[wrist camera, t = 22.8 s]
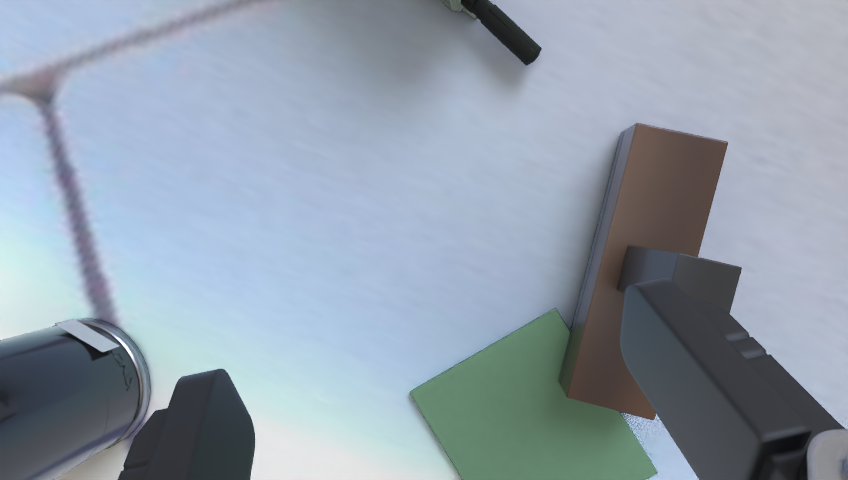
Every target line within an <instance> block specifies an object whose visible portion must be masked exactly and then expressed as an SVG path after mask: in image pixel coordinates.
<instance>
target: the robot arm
mask: <svg viewBox="0 0 848 480" xmlns="http://www.w3.org/2000/svg"><path fill="white" fill-rule="evenodd" d="M55 324H56V325H55V326H53V327H50V328H46V329H42V330H38V331H35V332H31V333H26V334H22V335H18V336H15V337H11V338H7V339H3V340H0V480H55V479H56V478H58V477H59V476H61V475H63V474H64V473H66V472H68V471H69V470H71V469H72V468H74V467H76V466H78V465H79V464H81V463H83V462H84V461H86V460H87V459H89V458H91V457H92V456H94V455H95V454H97V453H99V452H100V451H102V450H104V449H107V448H109V447H111V446H113V445H115V444H116V443H118V442H119V441H121V440H123V439H124V438H126V437H127V436H128V435H130V434H131V433H132V432H133V431H134V430H135V429H136V428H137V426H138V425H139V424H140V422H141V420H142V419H143V417H144V415H145V412H146V410H147V407H148V403H149V397H150V379H149V373H148V369H147V366H146V363H145V360H144V358H143V356H142V354H141V352H140V350H139V349H138V347H137V346H136V345H135V343H134V342H133V341H132V340H131V339H130V338H129V337H128V336H127V335H126V334H125V333H124V332H123V331H121V330H120V329H118V328H117V327H115V326H113V325H111V324H109V323H107V322H104V321H101V320H97V319H86V318H83V319H76V320H75V319H71V320H67V321H63V322H59V323H55ZM620 347H621V352H622V356H623V359H624V362H625V364H626V366H627V368H628V370H629V372H630V373H631V375H632V376H633V378H634V379H635V381H636V383H637V384H638V386H639V387H640V389H641V390H642V392H643V393H644V395H645V396H646V398H647V400H648V401H649V403H650V404H651V406H652V407H653V409H654V410H655V412H656V413H657V415H658V417H659V418H660V420H661V421H662V423H663V424H664V426H665V427H666V429H667V430H668V432H669V433H670V435H671V437H672V438H673V440H674V441H675V443H676V444H677V446H678V447H679V449H680V450H681V452H682V454H683V455H684V457H685V458H686V460H687V461H688V463H689V464H690V466H691V467H692V469H693V471H694V472H695V474H696V475H697V477H698V478H699V480H848V430H846V429H845V428H844V427H843V426H842V425H840V424H839V423H838V422H837V421H836V420H835V419H834V418H833V417H832V416H831V415H830V414H829V413H828V412H827V411H826V410H825V409H824V408H823V407H822V406H821V405H820V404H819V403H818V402H817V401H816V400H815V399H814V398H813V397H812V396H811V395H810V394H809V393H808V392H807V391H806V390H805V389H804V388H803V387H802V386H801V385H800V384H799V383H798V382H797V381H796V380H795V379H794V378H793V377H792V376H791V375H790V374H789V373H788V372H787V371H786V370H785V369H784V368H783V367H782V366H781V365H780V364H779V363H778V362H777V361H776V360H775V359H774V358H773V357H772V356H771V355H767V354H766V350H765V349H764V348H763V347H762V346H761V345H760V344H759V343H758V342H757V341H756V340H755V339H754V338H753V337H751V338H750V337H749V333H748V332H747V331H746V330H745V329H744V328H743V327H742V326H741V325H740V324H739V323H738V322H737V321H736V320H735V319H734V318H733V317H732V316H731V315H730V314H729V313H728V312H726V311H724V310H722V309H721V308H719V307H717V306H715V305H713V304H712V303H710V302H708V301H706V300H704V299H703V298H696V299H692V300H690V298H689V297H688V296H687V295H686V294H685V293H684V292H683V291H682V290H681V289H680V288H679V287H678V286H677V285H676V284H675V283H674V282H673V281H672V280H671V279H669V278H661V279H656V280H651V281H647V282H642V283H637V284H632V285H629V286H627V288H626V290H625V295H624V304H623V314H622V324H621V334H620ZM254 450H255V433H254V427H253V423H252V419H251V417H250V415H249V413H248V411H247V409H246V407H245V405H244V403H243V401H242V400H241V398H240V396H239V394H238V392H237V390H236V388H235V386H234V384H233V382H232V380H231V378H230V377H229V375H228V373H227V372H226V371H225V370H224V369H217V370H212V371H207V372H202V373H198V374H193V375H188V376H183V377H181V378H180V379H179V380H178V382H177V384H176V386H175V389H174V392H173V395H172V397H171V400H170V403H169V406H168V408H166V409H162V410H157V411H155V412H154V413H153V414H152V416H151V417H150V418H149V420H148V421H147V422H146V423H145V425H144V426H143V427H142V428H141V430H140V431H139V432H138V434H137V435H136V436H135V438H134V440H133V443H132V445H131V448H130V450H129V453H128V455H127V458H126V460H125V463H124V465H123V466H124V471H121V473H120V475H119V478H118V480H250V476H251V469H252V463H253V457H254Z"/></svg>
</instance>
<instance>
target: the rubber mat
mask: <svg viewBox="0 0 848 480" xmlns="http://www.w3.org/2000/svg"><path fill="white" fill-rule="evenodd" d="M569 336H570V331H569V329H568V327H567V326H566V324H565V322H564V321H563V319H562V318H561V316H560V314H559V313H558V311H557V310H556V308H555V309H553V310H551V311H549V312H548V313H546V314H544V315H542V316H541V317H539V318H537V319H535V320H534V321H532V322H530V323H528V324H527V325H525V326H523V327H521V328H520V329H518V330H516V331H514V332H513V333H511V334H509V335H508V336H506V337H504V338H502V339H501V340H499V341H497V342H495V343H494V344H492V345H490V346H488V347H487V348H485V349H483V350H481V351H480V352H478V353H476V354H474V355H473V356H471V357H469V358H467V359H466V360H464V361H462V362H460V363H459V364H457V365H455V366H454V367H452V368H450V369H448V370H447V371H445V372H443V373H441V374H440V375H438V376H436V377H434V378H433V379H431V380H429V381H427V382H426V383H424V384H422V385H420V386H419V387H417V388H415V389H413V390H412V391H411V392H410V394H411V396H412V398H413V399H414V401H415V403H416V404H417V406H418V407H419V409H420V411H421V412H422V414H423V416H424V417H425V419H426V421H427V422H428V424H429V425H430V427H431V429H432V430H433V432H434V434H435V435H436V437H437V439H438V440H439V442H440V443H441V445H442V447H443V448H444V450H445V452H446V453H447V455H448V457H449V458H450V460H451V461H452V463H453V465H454V466H455V468H456V470H457V471H458V473H459V475H460V476H461V478H462V480H646V479H648V478H649V477H651V476H653V475H655V474H657V473H658V472H657V471H656V469H655V467H654V466H653V464H652V463H651V461H650V459H649V458H648V456H647V455H646V453H645V451H644V450H643V448H642V446H641V445H640V443H639V442H638V440H637V438H636V437H635V435H634V434H633V432H632V430H631V429H630V427H629V426H628V424H627V422H626V421H625V419H624V418H623V416H622V414H621V413H620V412H619V411H615V410H612V409H608V408H604V407H600V406H596V405H592V404H589V403H585V402H581V401H577V400H573V399H569V398H567V397H566V395H565V393H564V392H563V390H562V388H561V386H560V384H559V382H558V379H559V375H560V371H561V367H562V363H563V360H564V356H565V352H566V348H567V344H568V340H569Z"/></svg>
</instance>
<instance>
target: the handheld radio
mask: <svg viewBox="0 0 848 480" xmlns="http://www.w3.org/2000/svg"><path fill="white" fill-rule="evenodd" d="M441 1H442V2H443V3H444V4H445V5H446V6H447V7H449V8H450V9H451V10H453V11H458V12H460V11H461V10H463V11H465V12H466V13H467V14H469V15H470V16H471V17H473V18H474V19H476V18H478V19H479V20H481V23H482V24H483V25H484V26H485V27H486V28H487V29H488V30H489V31H490V32H491V33H492V34H493V35H495V36H496V37H497V38H498V39H499V40H500V41H501V42H502V43H503V44H504V45H505V46H506V47H507V48H508V49H509V50H510V51H511V52H512V53H514V54H515V55H516V56H517V57H518V58H519V59H520V60H521V61H522V62H523V63H524V64H525V65H528V64H530V63H532V62H533V61H534V60H535V59H536V58H537V57H538V56H539V53H540V51H541V47H540V46H539V45H538V44H537V43H535V42H534V41H533V40H532V39H531V38H530V37H529V36H528V35H527V34H526V33H525V32H524V31H523V30H522V29H521V28H520V27H518V26H517V25H516V24H515V23H514V22H513V21H512V20H511V19H510V18H509V17H508V16H507V15H506V14H505V13H504V12H502V11H501V10H500V9H499V8H498V7H497V6H496V5H493V4H492V3H491V2H490V1H489V0H441Z"/></svg>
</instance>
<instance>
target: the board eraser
mask: <svg viewBox="0 0 848 480" xmlns="http://www.w3.org/2000/svg"><path fill="white" fill-rule="evenodd" d="M727 145H728V142H726V141H721V140H717V139H712V138H707V137H702V136H698V135H693V134H688V133H683V132H678V131H674V130H669V129H664V128H659V127H655V126H650V125H645V124H640V123H636V124H634V125H633V126H631V127H629V128H628V129H626V130H625V131H623V132H621V135H620V139H619V143H618V147H617V151H616V155H615V159H614V162H613V166H612V170H611V174H610V178H609V182H608V186H607V190H606V194H605V198H604V202H603V206H602V210H601V214H600V218H599V222H598V226H597V229H596V233H595V237H594V241H593V245H592V249H591V253H590V257H589V261H588V265H587V269H586V273H585V277H584V281H583V285H582V289H581V293H580V296H579V300H578V304H577V308H576V312H575V316H574V320H573V324H572V328H571V332H570V336H569V340H568V344H567V348H566V352H565V356H564V360H563V363H562V367H561V371H560V375H559V379H558V382H559V384H560V386H561V388H562V390H563V392H564V393H565V395H566V397H567V398H569V399H573V400H577V401H581V402H585V403H589V404H592V405H596V406H600V407H604V408H608V409H612V410H615V411H619V412H623V413H627V414H631V415H635V416H638V417H642V418H646V419H650V420H654V418H655V415H656V412H655V410H654V409H653V407H652V406H651V404H650V403H649V401H648V400H647V398H646V396H645V395H644V393H643V392H642V390H641V389H640V387H639V386H638V384H637V383H636V381H635V379H634V378H633V376H632V375H631V373H630V372H629V370H628V368H627V366H626V364H625V362H624V359H623V356H622V352H621V347H620V334H621V324H622V314H623V304H624V295H625V290H626V288H627V286H629V285H632V284H637V283H642V282H647V281H651V280H656V279H661V278H669V279H671V280H672V281H673V282H674V283H675V284H676V285H677V286H678V287H679V288H680V289H681V290H682V291H683V292H684V293H685V294H686V295H687V296H688V297H689V298H690V300H692V299H696V298H703V299H704V300H706V301H708V302H710V303H712V304H713V305H715V306H717V307H719V308H721V309H722V310H724V311H726V312H728V313H730V309H731V306H732V302H733V298H734V295H735V291H736V287H737V284H738V280H739V276H740V273H741V269H742V268H741V267H738V266H734V265H730V264H725V263H721V262H717V261H712V260H708V259H704V258H699V257H698V254H699V250H700V246H701V242H702V239H703V235H704V231H705V227H706V224H707V220H708V216H709V212H710V209H711V205H712V201H713V197H714V194H715V190H716V186H717V182H718V179H719V175H720V171H721V167H722V164H723V160H724V156H725V152H726V149H727Z"/></svg>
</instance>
